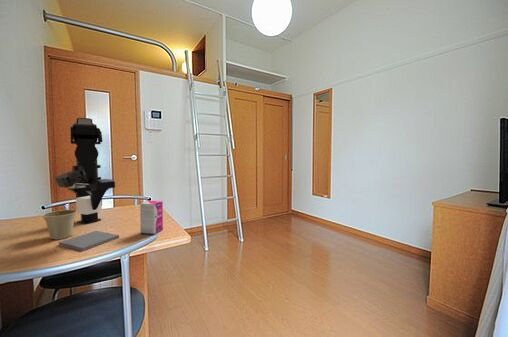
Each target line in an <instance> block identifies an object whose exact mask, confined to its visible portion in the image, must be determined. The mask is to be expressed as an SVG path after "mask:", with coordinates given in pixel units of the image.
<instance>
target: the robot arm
mask: <svg viewBox="0 0 508 337" xmlns="http://www.w3.org/2000/svg"><path fill="white" fill-rule="evenodd" d="M102 143H103V135H102V131H101V128H100V127H98V126H97V124H94V123H93V119H92V118H88V117H76V122H75V123H74V122H73V124H72V125H71V126H70V144H71V145H76V147H75V149H74V157H75V162H76V163H75V165H73V166H72V167H71V169H72V170H70V171H67V172H65V173H62V174H60V175H56V176H55V177H54V179H55V182H56V184H57V185H58V187H59V188H65V189H66V188H67V190H69V191H71V192H72V193H74V195H75V199H76V198H79V197H85V196H90V198H91V204H92V209H93V210H96V209H97V207H98V205H99V203H100V201H101V202H102V203H103V197H104V195H105V194H106V192H107V191H108V190H110V189H115V188H116V181H115V180H114V179H113V178H103V179H102V177H101V176H99V169H101V168H102V167H101V166H102V165H101V164H98V157H99V151H98V148H97V147H96V145H101V144H102ZM101 220H102V218H99V212H96V213H92V214H87V215H86V214H80V219H79V220H77V223H79V224H85V225H87V224H91V223H96V222H99V221H101Z"/></svg>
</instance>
